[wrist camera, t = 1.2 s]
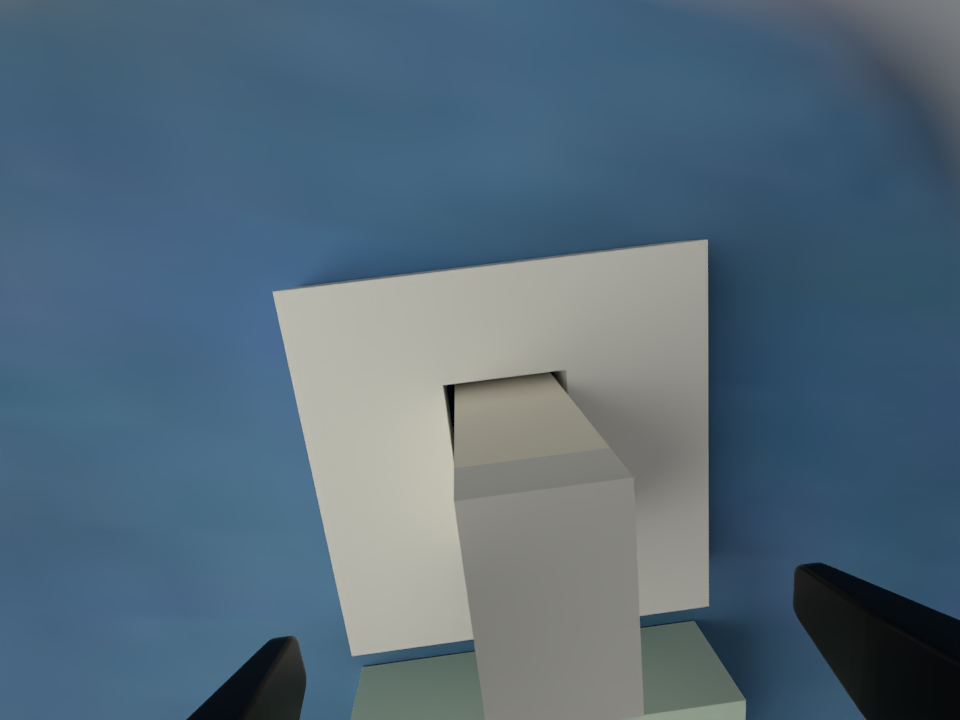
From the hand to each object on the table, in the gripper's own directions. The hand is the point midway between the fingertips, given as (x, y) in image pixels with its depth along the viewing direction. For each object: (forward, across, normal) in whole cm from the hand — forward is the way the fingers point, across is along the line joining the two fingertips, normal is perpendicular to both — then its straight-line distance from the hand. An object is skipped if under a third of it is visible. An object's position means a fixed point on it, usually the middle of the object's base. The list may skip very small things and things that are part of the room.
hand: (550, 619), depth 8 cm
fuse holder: (+8, 0, 0) cm, 8 cm away
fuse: (+8, 0, 0) cm, 8 cm away
